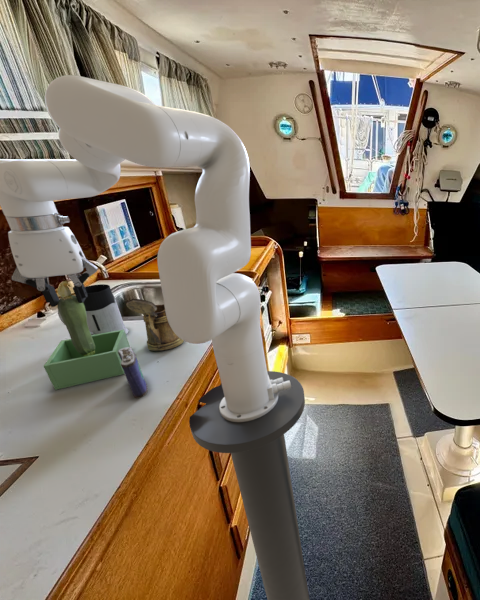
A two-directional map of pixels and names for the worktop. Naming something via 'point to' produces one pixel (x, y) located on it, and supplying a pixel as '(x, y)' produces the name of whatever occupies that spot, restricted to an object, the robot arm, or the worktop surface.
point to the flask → (133, 372)
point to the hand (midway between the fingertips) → (69, 301)
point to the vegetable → (75, 320)
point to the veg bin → (86, 361)
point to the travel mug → (101, 310)
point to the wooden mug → (155, 325)
